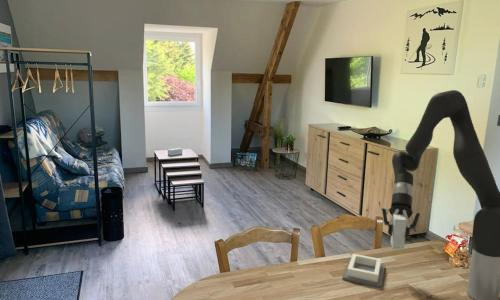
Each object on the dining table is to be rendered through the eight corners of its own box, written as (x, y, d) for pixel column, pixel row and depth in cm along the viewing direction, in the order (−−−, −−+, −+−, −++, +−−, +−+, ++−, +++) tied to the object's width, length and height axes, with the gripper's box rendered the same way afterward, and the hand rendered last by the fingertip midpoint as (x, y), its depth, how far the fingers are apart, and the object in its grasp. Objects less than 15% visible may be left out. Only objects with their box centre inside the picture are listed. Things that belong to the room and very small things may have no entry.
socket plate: (384, 267, 154) (385, 258, 153) (381, 287, 140) (382, 277, 139) (349, 260, 160) (349, 251, 159) (342, 279, 145) (343, 269, 145)
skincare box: (404, 250, 144) (406, 220, 141) (392, 249, 144) (394, 219, 142) (401, 243, 149) (404, 214, 147) (390, 242, 150) (392, 213, 148)
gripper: (383, 189, 151) (378, 229, 143) (422, 194, 146) (419, 236, 137) (383, 198, 157) (378, 237, 149) (421, 203, 151) (418, 243, 143)
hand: (398, 236), depth 143 cm, fingers closed on skincare box, 4 cm apart
